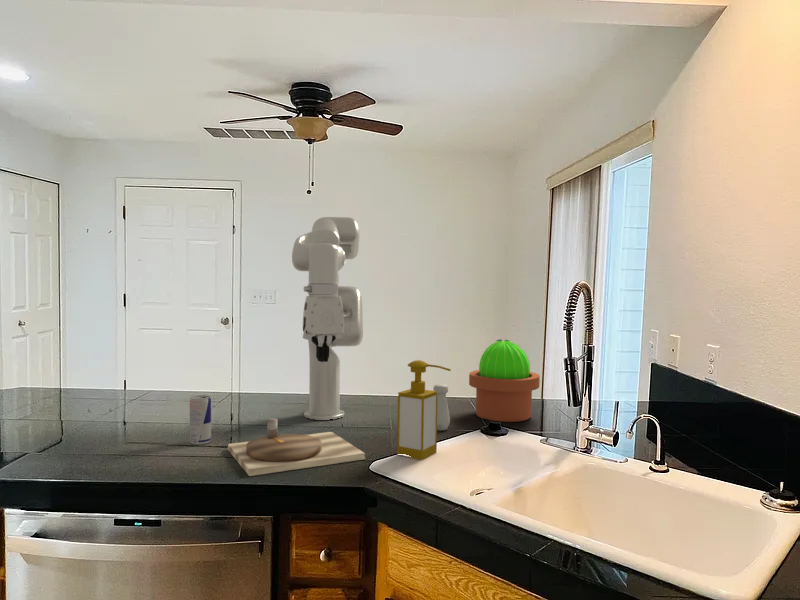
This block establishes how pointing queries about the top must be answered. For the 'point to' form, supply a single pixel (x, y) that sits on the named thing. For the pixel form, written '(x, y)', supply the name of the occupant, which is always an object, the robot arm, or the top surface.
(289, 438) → the dial
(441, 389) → the salt shaker
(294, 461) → the wooden cutting board
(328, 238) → the robot arm
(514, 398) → the potted cactus
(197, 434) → the energy drink
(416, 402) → the soap bottle
